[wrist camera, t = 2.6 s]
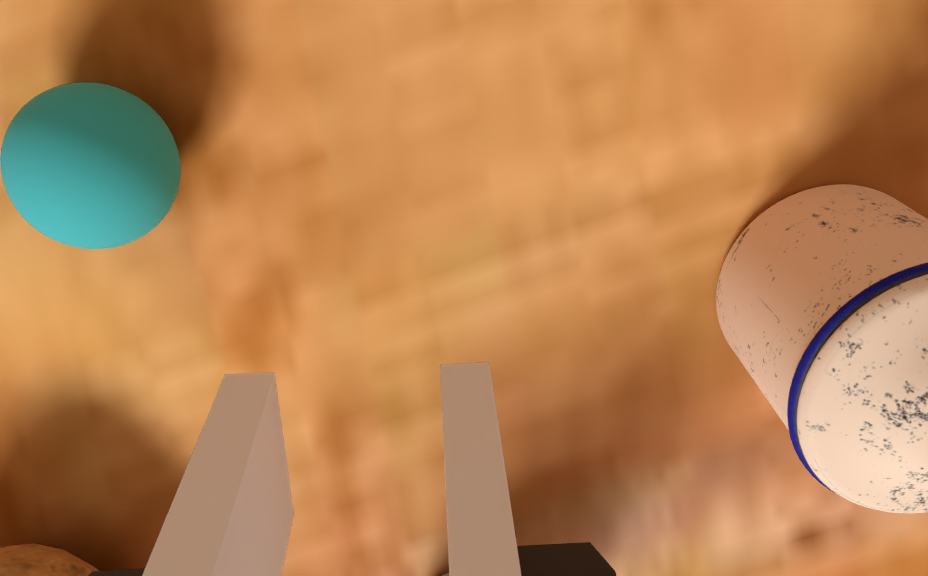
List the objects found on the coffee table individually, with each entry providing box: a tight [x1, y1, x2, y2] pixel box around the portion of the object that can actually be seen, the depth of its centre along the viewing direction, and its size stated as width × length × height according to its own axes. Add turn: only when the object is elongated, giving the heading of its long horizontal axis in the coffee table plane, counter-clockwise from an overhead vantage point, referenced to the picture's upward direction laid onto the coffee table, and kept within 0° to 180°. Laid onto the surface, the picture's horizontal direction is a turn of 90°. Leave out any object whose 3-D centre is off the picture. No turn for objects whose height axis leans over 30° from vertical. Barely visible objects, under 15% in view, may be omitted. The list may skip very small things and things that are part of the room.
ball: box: [0, 82, 181, 249], centre depth 28 cm, size 6×6×6 cm
